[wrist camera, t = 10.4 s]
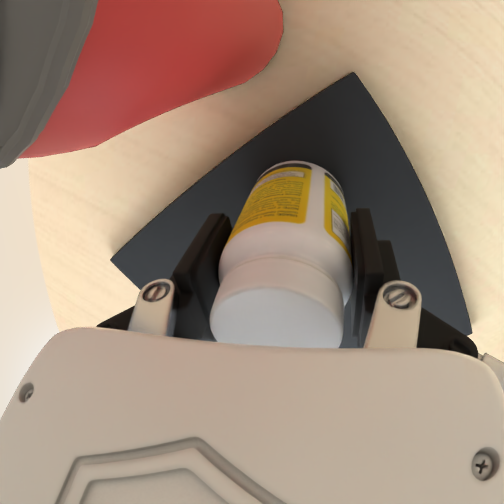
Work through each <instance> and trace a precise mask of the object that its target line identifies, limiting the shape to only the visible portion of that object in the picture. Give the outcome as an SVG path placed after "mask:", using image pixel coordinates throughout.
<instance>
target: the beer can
mask: <svg viewBox="0 0 504 504" xmlns="http://www.w3.org/2000/svg"><path fill="white" fill-rule="evenodd" d="M282 34H283V12H282V9H281V7H280V5H279V2H278V0H0V168H5V167H8V166H9V165H11V164H13V163H14V162H15V161H16V159H18V158H32V157H43V156H49V155H55V154H60V153H67V152H72V151H77V150H81V149H85V148H90V147H95V146H97V145H99V144H101V143H103V142H105V141H107V140H109V139H110V138H112V137H114V136H116V135H118V134H120V133H122V132H124V131H126V130H128V129H130V128H132V127H134V126H136V125H139V124H141V123H143V122H145V121H147V120H149V119H152V118H154V117H156V116H158V115H161V114H163V113H165V112H168V111H170V110H172V109H175V108H177V107H180V106H182V105H185V104H187V103H190V102H192V101H195V100H198V99H200V98H203V97H206V96H208V95H211V94H214V93H217V92H220V91H223V90H226V89H228V88H231V87H234V86H237V85H240V84H242V83H245V82H247V81H248V80H249V79H251V78H252V77H253V76H255V75H256V74H258V73H259V72H261V71H262V70H263V69H264V68H265V67H266V65H267V64H268V63H269V61H270V60H271V59H272V57H273V56H274V55H275V53H276V52H277V49H278V46H279V43H280V40H281V37H282Z"/></svg>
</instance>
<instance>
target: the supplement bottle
mask: <svg viewBox="0 0 504 504" xmlns="http://www.w3.org/2000/svg"><path fill="white" fill-rule="evenodd" d="M218 277H219V282H220V287H219V289H218V293H217V295H216V298H215V301H214V303H213V306H212V309H211V312H210V328H211V331H212V333H213V336H214V337H215V339H216V340H217V342H223V343H234V344H247V345H262V346H279V347H301V348H339V346H340V344H341V341H342V337H343V324H344V306H345V305H346V303H347V301H348V300H349V297H350V295H351V292H352V287H353V263H352V253H351V243H350V235H349V226H348V218H347V211H346V202H345V197H344V194H343V191H342V189H341V186H340V185H339V183H338V182H337V180H336V179H335V178H334V177H333V176H332V175H331V174H330V173H329V172H328V171H326V170H325V169H324V168H322V167H320V166H318V165H315V164H312V163H309V162H304V161H286V162H282V163H279V164H276V165H274V166H272V167H271V168H269V169H268V170H266V171H265V172H264V173H263V174H262V175H261V176H260V177H259V179H258V180H257V182H256V183H255V185H254V187H253V189H252V191H251V193H250V195H249V197H248V199H247V201H246V203H245V205H244V207H243V210H242V212H241V214H240V216H239V218H238V220H237V222H236V224H235V226H234V228H233V230H232V232H231V235H230V237H229V239H228V241H227V243H226V245H225V247H224V250H223V252H222V255H221V258H220V262H219V268H218Z"/></svg>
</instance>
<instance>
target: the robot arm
mask: <svg viewBox="0 0 504 504" xmlns="http://www.w3.org/2000/svg"><path fill="white" fill-rule="evenodd" d="M231 232H232V226H231V222H230V218H229V217H228V216H225V214H224V213H215V214H210V215H209V216H208V218H207V219H206V221H205V222H204V224H203V225H202V227H201V228H200V230H199V232H198V233H197V235H196V236H195V238H194V239H193V241H192V242H191V244H190V245H189V247H188V249H187V250H186V252H185V253H184V255H183V257H182V258H181V260H180V261H179V263H178V265H177V266H176V268H175V269H174V271H173V274H172V276H171V277H170V279H169V280H168V279H158V280H154V281H152V282H150V283H148V284H147V285H145V286H144V287H143V288H142V289H141V291H140V293H139V295H138V298H137V301H136V304H135V306H133V307H131V308H129V309H127V310H125V311H123V312H121V313H119V314H117V315H115V316H114V317H112V318H110V319H108V320H106V321H104V322H102V323H100V324H99V325H97V326H96V327H77V328H72V329H67V330H64V331H62V332H59V333H57V334H56V335H54V336H53V337H52V338H51V339H50V340H49V341H48V343H47V344H46V345H45V346H44V347H43V349H42V350H41V351H40V353H39V354H38V355H37V357H36V358H35V360H34V361H33V363H32V364H31V366H30V367H29V369H28V371H27V373H26V374H25V375H24V377H23V379H22V381H21V382H20V384H19V386H18V387H17V389H16V391H15V393H14V395H13V397H12V399H11V400H10V402H9V404H8V406H7V408H6V410H5V412H4V414H3V416H2V418H1V420H0V504H504V363H503V362H502V361H500V360H498V359H496V358H494V357H492V356H491V355H489V354H487V353H485V354H484V356H483V355H481V354H479V353H478V350H477V347H476V345H475V344H474V342H473V341H472V340H471V339H470V338H469V337H467V336H466V335H464V334H463V333H461V332H460V331H458V330H457V329H455V328H453V327H452V326H450V325H449V324H447V323H446V322H444V321H443V320H441V319H440V318H438V317H437V316H435V315H433V314H432V313H430V312H429V311H427V310H426V309H424V308H423V307H421V302H422V298H421V293H420V292H419V290H418V289H417V288H416V287H415V286H414V285H412V284H410V283H408V282H405V281H401V279H400V275H399V271H398V267H397V263H396V259H395V255H394V252H393V248H392V244H391V241H390V240H377V237H376V233H375V229H374V224H373V220H372V216H371V212H370V209H369V208H356V210H355V212H351V213H350V243H351V253H352V263H353V287H352V292H351V328H352V338H357V347H362V348H301V347H279V346H262V345H247V344H234V343H223V342H212V341H202V340H200V339H204V340H213V339H214V336H213V333H212V331H211V328H210V312H211V309H212V306H213V303H214V301H215V298H216V295H217V293H218V289H219V287H220V282H219V277H218V268H219V262H220V258H221V255H222V252H223V250H224V247H225V245H226V243H227V241H228V239H229V237H230V235H231Z"/></svg>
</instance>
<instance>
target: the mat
mask: <svg viewBox="0 0 504 504" xmlns="http://www.w3.org/2000/svg"><path fill="white" fill-rule="evenodd" d="M286 161H304V162H309V163H312V164H315V165H318V166H320V167H322V168H324V169H325V170H326V171H328V172H329V173H330V174H331V175H332V176H333V177H334V178H335V179H336V180H337V182H338V183H339V185H340V186H341V189H342V191H343V194H344V197H345V202H346V211H347V218H348V226H349V235H350V213H351V212H355V210H356V208H369V209H370V212H371V216H372V220H373V224H374V229H375V233H376V237H377V240H390V241H391V244H392V248H393V252H394V255H395V259H396V263H397V267H398V271H399V275H400V279H401V281H405V282H408V283H410V284H412V285H414V286H415V287H416V288H417V289H418V290H419V292H420V293H421V298H422V302H421V307H423V308H424V309H426V310H427V311H429V312H430V313H432V314H433V315H435V316H437V317H438V318H440V319H441V320H443V321H444V322H446V323H447V324H449V325H450V326H452V327H453V328H455V329H457V330H458V331H460V332H461V333H463V334H464V335H466V336H468V335H470V334H472V328H471V324H470V320H469V316H468V312H467V308H466V304H465V300H464V297H463V293H462V290H461V286H460V283H459V280H458V277H457V273H456V270H455V267H454V264H453V261H452V258H451V256H450V253H449V250H448V247H447V244H446V242H445V239H444V236H443V234H442V231H441V229H440V226H439V224H438V221H437V219H436V216H435V214H434V212H433V209H432V207H431V205H430V202H429V200H428V198H427V196H426V194H425V191H424V189H423V187H422V185H421V183H420V181H419V179H418V177H417V175H416V173H415V171H414V169H413V167H412V165H411V163H410V161H409V159H408V157H407V155H406V153H405V152H404V150H403V148H402V146H401V144H400V142H399V141H398V139H397V137H396V135H395V134H394V132H393V130H392V128H391V127H390V125H389V123H388V122H387V120H386V119H385V117H384V115H383V114H382V112H381V110H380V109H379V107H378V106H377V104H376V103H375V101H374V100H373V98H372V97H371V95H370V94H369V92H368V91H367V89H366V88H365V86H364V85H363V83H362V82H361V80H360V79H359V78H358V76H357V75H356V73H355V72H352V73H350V74H348V75H347V76H345V77H343V78H342V79H340V80H338V81H337V82H335V83H334V84H332V85H330V86H329V87H327V88H326V89H324V90H323V91H321V92H319V93H318V94H316V95H315V96H313V97H312V98H310V99H309V100H307V101H306V102H304V103H303V104H301V105H300V106H298V107H297V108H295V109H294V110H292V111H291V112H289V113H288V114H286V115H285V116H283V117H282V118H281V119H279V120H278V121H276V122H275V123H273V124H272V125H271V126H269V127H268V128H266V129H265V130H264V131H262V132H261V133H260V134H258V135H257V136H255V137H254V138H253V139H251V140H250V141H249V142H247V143H246V144H245V145H243V146H242V147H241V148H239V149H238V150H237V151H235V152H234V153H233V154H231V155H230V156H229V157H227V158H226V159H225V160H224V161H222V162H221V163H220V164H218V165H217V166H216V167H215V168H213V169H212V170H211V171H210V172H208V173H207V174H206V175H205V176H203V177H202V178H201V179H200V180H198V181H197V182H196V183H195V184H194V185H192V186H191V187H190V188H189V189H188V190H186V191H185V192H184V193H183V194H182V195H180V196H179V197H178V198H177V199H176V200H174V201H173V202H172V203H171V204H170V205H169V206H167V207H166V208H165V209H164V210H163V211H162V212H161V213H159V214H158V215H157V216H156V217H155V218H154V219H153V220H152V221H150V222H149V223H148V224H147V225H146V226H145V227H144V228H143V229H142V230H140V231H139V232H138V233H137V234H136V235H135V236H134V237H133V238H132V239H131V240H130V241H129V242H127V243H126V244H125V245H124V246H123V247H122V248H121V249H120V250H119V251H118V252H117V253H116V254H115V255H114V256H113V257H112V258H111V259H110V261H111V262H112V263H113V264H114V265H115V266H116V267H117V268H118V269H119V270H120V271H121V272H122V273H123V274H124V275H125V276H126V277H127V278H129V279H130V280H131V281H132V282H133V283H134V284H135V285H136V286H137V287H138V288H139V289H140V290H141V289H142V288H143V287H144V286H145V285H147V284H148V283H150V282H152V281H154V280H158V279H168V280H169V279H170V277H171V276H172V274H173V271H174V269H175V268H176V266H177V265H178V263H179V261H180V260H181V258H182V257H183V255H184V253H185V252H186V250H187V249H188V247H189V245H190V244H191V242H192V241H193V239H194V238H195V236H196V235H197V233H198V232H199V230H200V228H201V227H202V225H203V224H204V222H205V221H206V219H207V218H208V216H209V215H210V214H215V213H224V214H225V216H228V217H229V218H230V222H231V226H232V230H233V228H234V226H235V224H236V222H237V220H238V218H239V216H240V214H241V212H242V210H243V207H244V205H245V203H246V201H247V199H248V197H249V195H250V193H251V191H252V189H253V187H254V185H255V183H256V182H257V180H258V179H259V177H260V176H261V175H262V174H263V173H264V172H265V171H266V170H268V169H269V168H271V167H272V166H274V165H276V164H279V163H282V162H286ZM200 340H202V341H212V342H217V340H216V339H215V337H214V339H213V340H204V339H200ZM339 348H362V347H357V338H352V328H351V295H350V297H349V300H348V301H347V303H346V305H345V306H344V324H343V337H342V341H341V344H340V346H339Z"/></svg>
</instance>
